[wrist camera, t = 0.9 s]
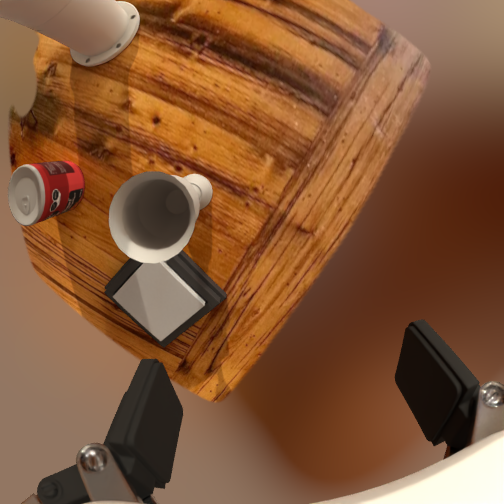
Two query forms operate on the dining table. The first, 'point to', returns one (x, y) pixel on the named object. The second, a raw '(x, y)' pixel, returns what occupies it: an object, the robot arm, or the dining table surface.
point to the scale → (189, 274)
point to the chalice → (157, 214)
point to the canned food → (44, 190)
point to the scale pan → (159, 298)
